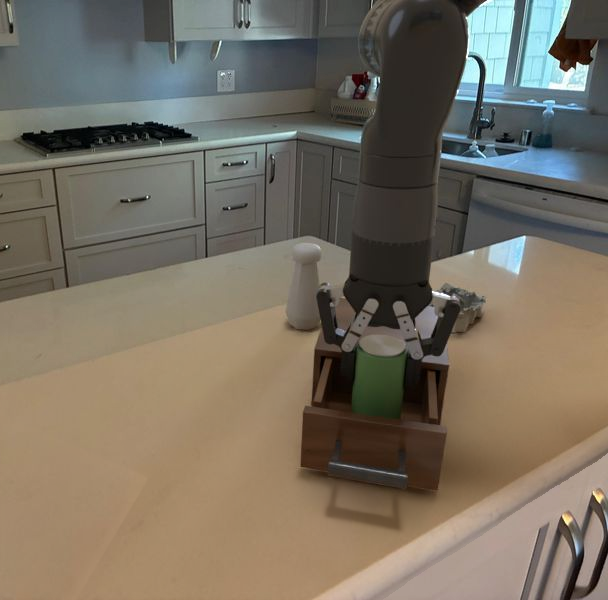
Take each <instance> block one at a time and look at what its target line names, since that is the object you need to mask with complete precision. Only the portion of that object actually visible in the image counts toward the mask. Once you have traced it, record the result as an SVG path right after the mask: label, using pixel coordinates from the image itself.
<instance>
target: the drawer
mask: <svg viewBox="0 0 608 600" xmlns="http://www.w3.org/2000/svg"><path fill="white" fill-rule="evenodd" d="M340 369H341V358H336V357H328V356H326V358H325V362H324V365H323V369H322V373H321V376H320V380H319V384H318V387H317V391H316V395H315V398H314V404H313V407H311V405H304V407H303V410H302V422H301V423H302V425H301V445H300V465H299V467H300V468H302V469H309V470H315V471H320V472H325V473H327V476H330V477H337V478H340V479H347V480H352V481H356V482H364V483H370V484H376V485H381V486H385V487H393V488H398V489H403V490H407V487H413V488H417V489H423V490H429V491H435V492H439V487H440V479H441V473H442V467H443V460H444V455H445V447H446V442H447V435H448V434H447V433H448V431H447V430H448V428H447V426H446V425H441V424H440V425H437V421H438V414H437V395H436V377H435V370H434V369H425V368H421V371H420V379H419V383H418V384H417V385H412V387H411V390H407V389H404V393H403V402H402V411H401V420H400V419H393V418H386V417H379V416H373V415H366V414H359V413H352V412H351V406H352V392H353V382H346V376H342V375H341V372H340Z"/></svg>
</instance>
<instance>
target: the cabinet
mask: <svg viewBox="0 0 608 600" xmlns="http://www.w3.org/2000/svg"><path fill="white" fill-rule="evenodd" d="M335 311H336V317H337V323H338V328H339V329H341V330H344V331H346V330H347V328H348V327H349V325H350V323H351V321H352V318H353V316H354V314H355V311H354V310H353V308H352V307H351V305H350V304H349V302H348V301H347V300H346V298H345V297H341V298H340V301H339V304H338V306H337V307H335ZM437 319H438V317H437V316H436V315H435V311H434V307H430V306H427V307H426V308H425V309H424V310H423V311H422V312H421V313H420V314H419V315H418V316H417V317H416V321H417V325H418V329H419V332H420V335H421V338H422V339H426V338H430V337H431V335H432V332H433V329H434V327H435V324H436V322H437ZM369 335H387V336H392V337H395V338H397V339H399V340H401V341H402V342H403V343H404V344H406V346H407V343H406V341H405V340H404V337H403V334H402V331H401V328H400V329H391V328H388V327H385V326H380V327H369V326H368V325H367V327H366V328H365V330H364V332H363V334H362V335H361V337H360V338H359V339H358V341H359V340H360V339H362V338H363V337H366V336H369ZM358 341H357V342H358ZM407 347H408V346H407ZM341 353H342V352H341V349H340V347H339V346H337V345H335V344H327V343H326V342H325V340H324V335H323V330H322V326H320V331H319V333H318V336H317V340H316V342H315V345H314V349H313V367H312V368H313V369H312V386H311V387H312V388H311V403H310V404H311V405H310V406H311V407H313V404H314V398H315V395H316V391H317V387H318V384H319V380H320V376H321V373H322V369H323V365H324V362H325V358H326V356H328V357H336V358H341ZM421 368H425V369H434V370H435V377H436V395H437V414H438V421H437V425H441V422H442V415H443V408H444V401H445V395H446V389H447V383H448V375H449V369H450V359H449V349H448V343H447V344H446V346H445V349H444V351H443V354H442V355H440V356H433V355H428V356H425V357H424V358H423V359H422V362H421Z"/></svg>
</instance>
